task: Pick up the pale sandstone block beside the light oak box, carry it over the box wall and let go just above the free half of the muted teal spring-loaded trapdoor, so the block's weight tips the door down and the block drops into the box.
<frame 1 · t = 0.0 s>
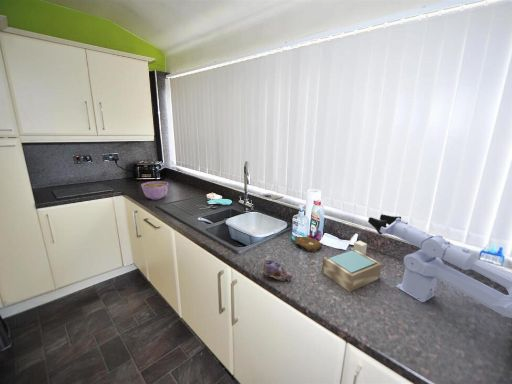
hand: (374, 218, 98), 22 cm above the worktop, tool horizontal, fingers open, 7 cm apart
decorative rock: (306, 245, 120), on the worktop
trapdoor frame: (339, 267, 101), on the worktop
trapdoor: (351, 261, 95), point 6 cm above the worktop, hinge at 0.0°
purple lumpy piece: (277, 277, 94), on the worktop
bowl of food: (156, 198, 189), on the worktop
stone: (359, 253, 113), on the worktop
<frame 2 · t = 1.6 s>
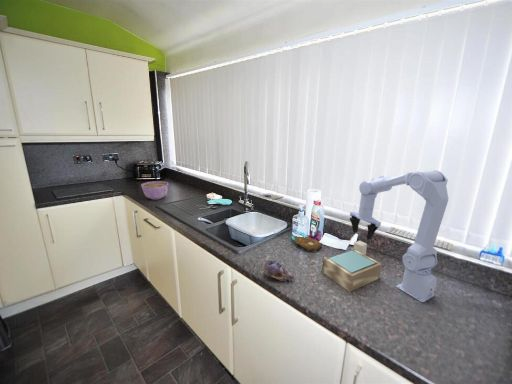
hand: (361, 235, 110), 9 cm above the worktop, tool pointing down, fingers open, 7 cm apart
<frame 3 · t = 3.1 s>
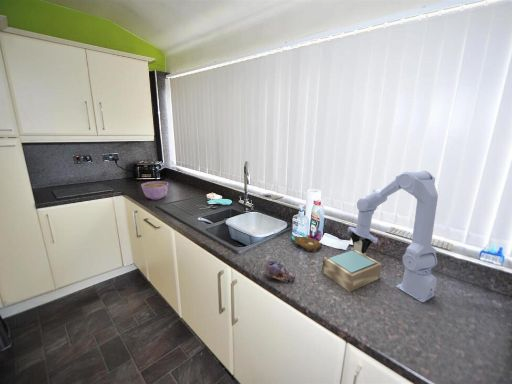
hand: (359, 250, 113), 2 cm above the worktop, tool pointing down, fingers closed on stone, 4 cm apart
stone: (359, 253, 113), on the worktop, touching gripper
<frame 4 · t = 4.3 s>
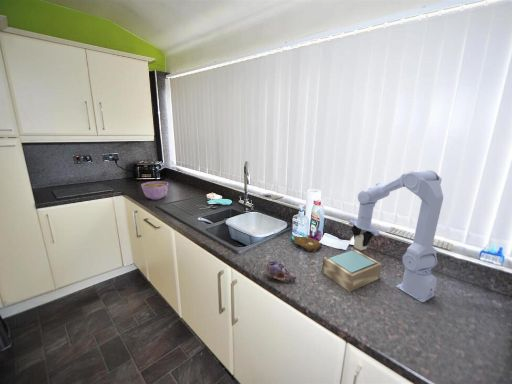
hand: (360, 243, 112), 5 cm above the worktop, tool pointing down, fingers closed on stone, 4 cm apart
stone: (360, 247, 112), point 3 cm above the worktop, touching gripper
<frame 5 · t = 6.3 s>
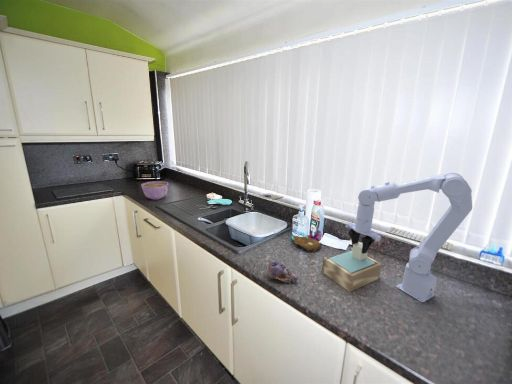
hand: (359, 250, 96), 10 cm above the worktop, tool pointing down, fingers closed on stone, 4 cm apart
trapdoor: (351, 261, 95), point 6 cm above the worktop, hinge at -0.5°
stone: (359, 257, 97), point 7 cm above the worktop, touching gripper
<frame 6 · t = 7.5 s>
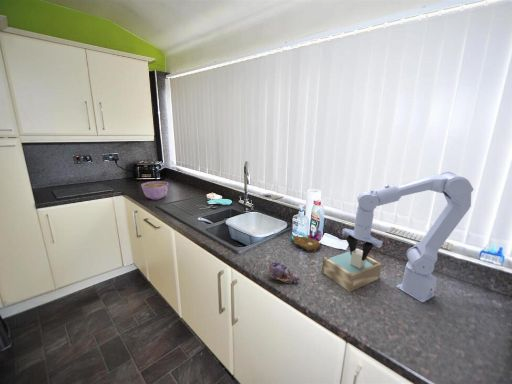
hand: (358, 256, 92), 9 cm above the worktop, tool pointing down, fingers closed on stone, 4 cm apart
trapdoor: (351, 263, 95), point 5 cm above the worktop, hinge at -7.3°
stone: (357, 264, 93), point 6 cm above the worktop, touching gripper
when the fingers open (9 cm above the worktop, at t = 7.6 s): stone drops 3 cm, resting on trapdoor, trapdoor frame.
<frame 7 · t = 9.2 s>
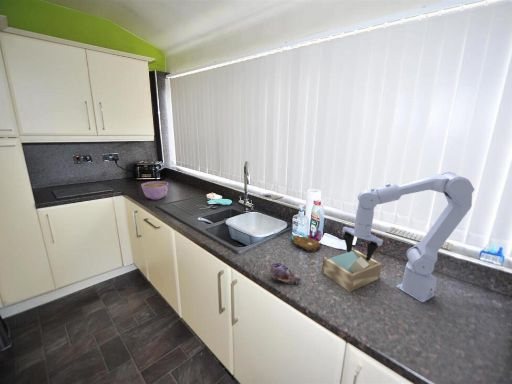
hand: (358, 255, 92), 10 cm above the worktop, tool pointing down, fingers open, 7 cm apart
trapdoor: (349, 266, 96), point 3 cm above the worktop, hinge at -27.4°, touching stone
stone: (355, 270, 94), point 3 cm above the worktop, tilted 27°, touching trapdoor, trapdoor frame
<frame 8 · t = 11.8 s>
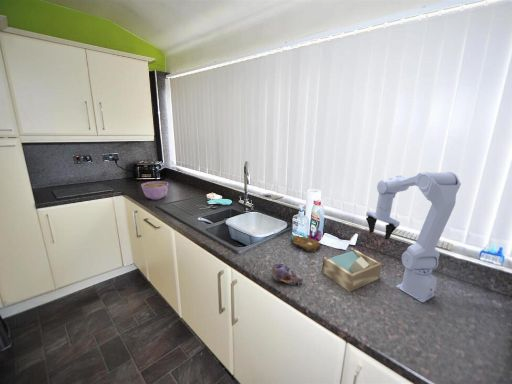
hand: (378, 235, 108), 10 cm above the worktop, tool pointing down, fingers open, 7 cm apart
at the end: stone point 2.8 cm above the worktop; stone inside the target area on the trapdoor frame (1.0 cm from its centre), point 2.8 cm above the trapdoor frame's base; the gripper is holding nothing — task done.
